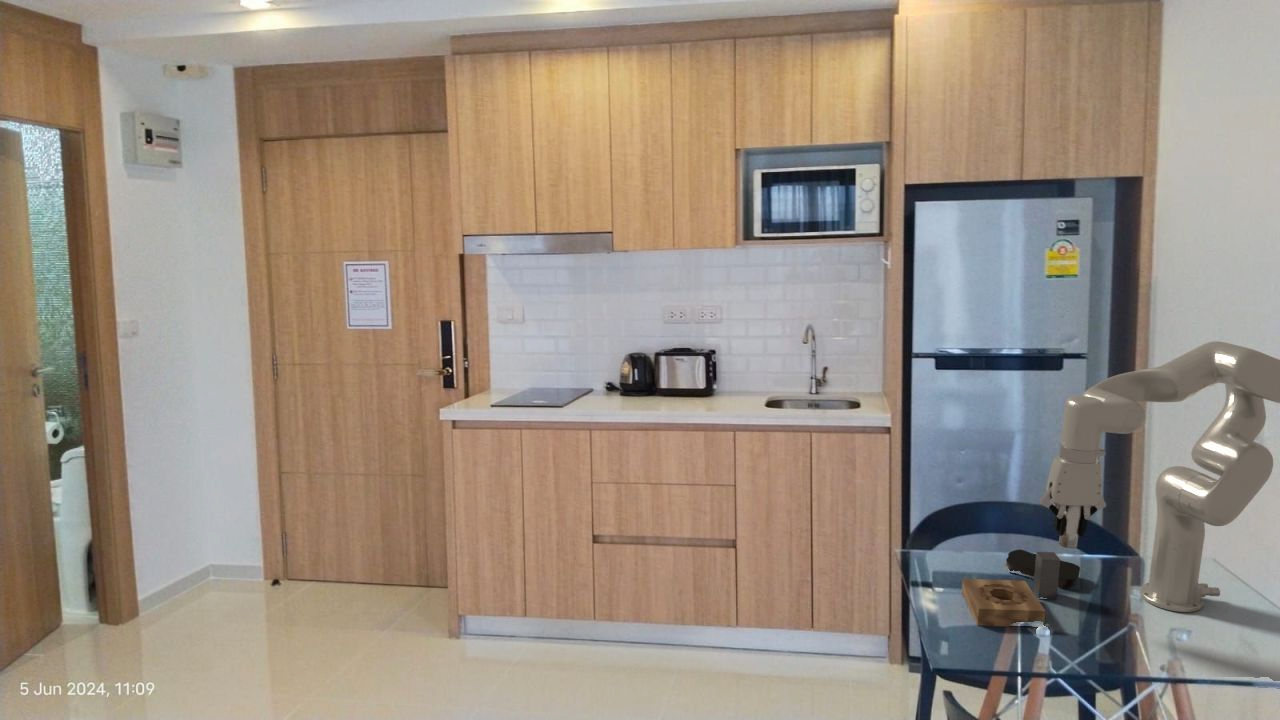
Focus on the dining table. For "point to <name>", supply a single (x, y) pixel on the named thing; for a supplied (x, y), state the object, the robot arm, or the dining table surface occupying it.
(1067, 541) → the round bit
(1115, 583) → the dining table surface
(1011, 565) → the black sponge
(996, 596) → the socket block
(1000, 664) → the dining table surface
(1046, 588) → the square bit
